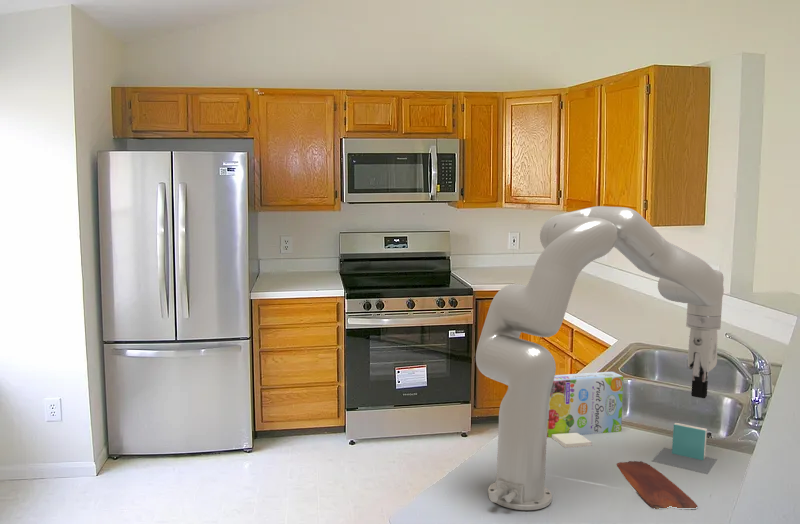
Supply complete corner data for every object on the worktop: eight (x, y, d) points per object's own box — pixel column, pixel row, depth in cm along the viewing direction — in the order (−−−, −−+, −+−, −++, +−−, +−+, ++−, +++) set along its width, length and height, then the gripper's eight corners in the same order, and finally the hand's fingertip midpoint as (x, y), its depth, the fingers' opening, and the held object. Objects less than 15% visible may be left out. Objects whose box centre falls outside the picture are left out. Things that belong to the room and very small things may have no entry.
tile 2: (703, 460, 164) (705, 430, 163) (671, 453, 168) (673, 424, 167) (704, 458, 166) (707, 428, 165) (673, 451, 169) (675, 422, 169)
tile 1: (591, 449, 172) (591, 442, 172) (565, 451, 170) (565, 444, 170) (576, 439, 179) (576, 432, 178) (551, 441, 177) (551, 434, 176)
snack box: (609, 426, 188) (612, 370, 186) (621, 433, 183) (625, 376, 181) (537, 432, 182) (539, 374, 180) (547, 439, 176) (550, 380, 175)
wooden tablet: (701, 513, 139) (702, 504, 139) (651, 512, 139) (651, 504, 138) (647, 460, 166) (647, 453, 165) (604, 460, 165) (605, 453, 165)
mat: (707, 475, 156) (707, 474, 156) (651, 462, 163) (651, 461, 163) (717, 460, 165) (717, 459, 165) (664, 449, 172) (664, 447, 172)
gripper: (713, 328, 160) (709, 407, 162) (726, 318, 173) (722, 392, 175) (679, 324, 165) (674, 401, 167) (694, 314, 177) (689, 386, 179)
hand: (699, 396), depth 171 cm, fingers closed
